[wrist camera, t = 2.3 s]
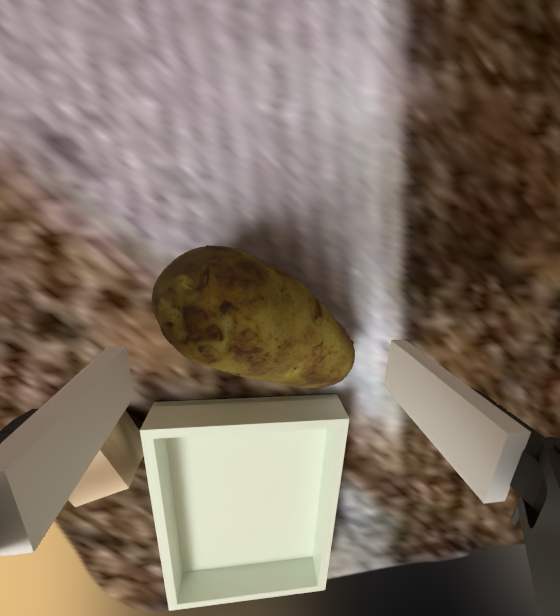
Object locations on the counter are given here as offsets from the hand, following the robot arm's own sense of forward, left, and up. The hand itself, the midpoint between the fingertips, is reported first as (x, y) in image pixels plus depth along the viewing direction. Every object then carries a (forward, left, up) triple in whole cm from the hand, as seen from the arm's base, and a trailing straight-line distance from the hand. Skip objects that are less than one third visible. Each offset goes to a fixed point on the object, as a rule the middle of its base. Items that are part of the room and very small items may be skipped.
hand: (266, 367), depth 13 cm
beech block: (+10, -12, -7) cm, 17 cm away
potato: (0, 0, -7) cm, 7 cm away
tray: (+18, -1, -7) cm, 19 cm away
